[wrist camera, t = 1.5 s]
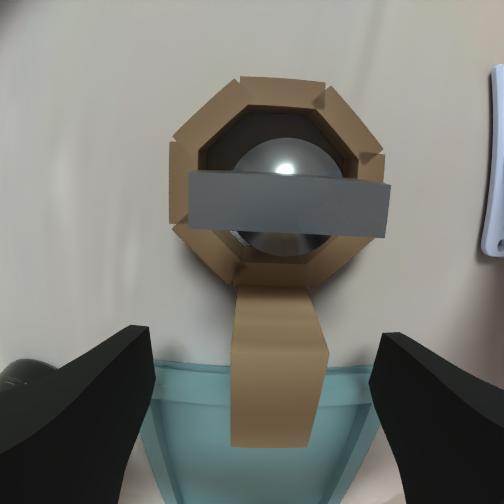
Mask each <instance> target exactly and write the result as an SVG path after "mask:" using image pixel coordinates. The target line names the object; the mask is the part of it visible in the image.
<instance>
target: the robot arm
mask: <svg viewBox="0 0 504 504" xmlns="http://www.w3.org/2000/svg"><path fill="white" fill-rule="evenodd" d="M491 75H492V91H493V149H492V165H491V177H490V187H489V196H488V203H487V211H486V217H485V223H484V229H483V235H482V240H481V249H482V251H483V253H484V254H486V255H488V256H490V257H504V65H501V64H498V65H495V66H493V67H492V71H491ZM499 241H500V244H499V247H498V248H497V245H498V243H499ZM155 381H156V374H155V368H154V361H153V354H152V347H151V340H150V332H149V327H147V326H137V325H129V326H127V327H126V328H124V329H122V330H121V331H119V332H117V333H116V334H114V335H113V336H111V337H110V338H108V339H107V340H105V341H104V342H102V343H101V344H99V345H97V346H96V347H94V348H93V349H91V350H90V351H88V352H87V353H85V354H83V355H82V356H80V357H78V358H77V359H75V360H73V361H71V362H70V363H68V364H66V365H64V366H63V367H61V368H59V369H57V370H55V371H53V372H51V373H49V374H47V375H45V376H43V377H41V378H39V379H36V380H34V381H32V382H29V383H27V384H24V385H22V386H19V387H16V388H13V389H10V390H7V391H4V392H1V393H0V504H118V500H119V495H120V490H121V485H122V481H123V477H124V472H125V469H126V466H127V462H128V459H129V457H130V454H131V451H132V449H133V446H134V444H135V441H136V439H137V436H138V433H139V431H140V428H141V426H142V423H143V421H144V418H145V416H146V413H147V411H148V408H149V405H150V402H151V398H152V394H153V390H154V386H155ZM368 384H369V388H370V392H371V397H372V400H373V404H374V408H375V410H376V413H377V415H378V418H379V420H380V423H381V425H382V428H383V430H384V432H385V435H386V437H387V440H388V442H389V445H390V447H391V450H392V452H393V455H394V457H395V460H396V462H397V465H398V469H399V472H400V476H401V480H402V484H403V489H404V493H405V499H406V504H504V390H503V389H500V388H498V387H496V386H494V385H491V384H489V383H487V382H484V381H482V380H480V379H478V378H476V377H475V376H473V375H471V374H469V373H467V372H465V371H464V370H462V369H460V368H458V367H457V366H455V365H453V364H452V363H450V362H448V361H447V360H445V359H443V358H442V357H440V356H439V355H437V354H435V353H434V352H432V351H431V350H429V349H427V348H426V347H424V346H423V345H421V344H419V343H418V342H416V341H415V340H413V339H411V338H409V337H408V336H406V335H404V334H402V333H400V332H393V333H382V336H381V340H380V344H379V348H378V351H377V355H376V358H375V362H374V365H373V369H372V372H371V375H370V379H369V382H368Z"/></svg>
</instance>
